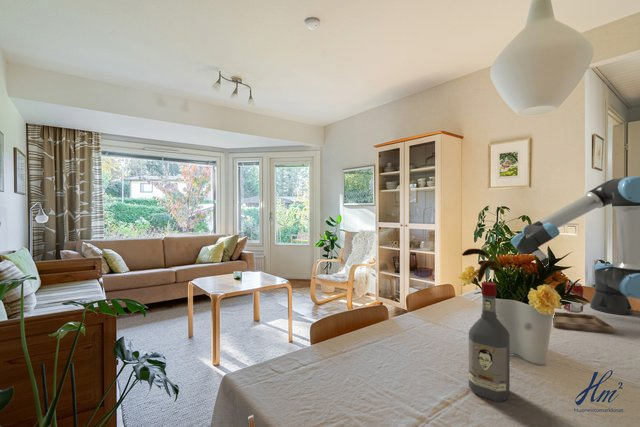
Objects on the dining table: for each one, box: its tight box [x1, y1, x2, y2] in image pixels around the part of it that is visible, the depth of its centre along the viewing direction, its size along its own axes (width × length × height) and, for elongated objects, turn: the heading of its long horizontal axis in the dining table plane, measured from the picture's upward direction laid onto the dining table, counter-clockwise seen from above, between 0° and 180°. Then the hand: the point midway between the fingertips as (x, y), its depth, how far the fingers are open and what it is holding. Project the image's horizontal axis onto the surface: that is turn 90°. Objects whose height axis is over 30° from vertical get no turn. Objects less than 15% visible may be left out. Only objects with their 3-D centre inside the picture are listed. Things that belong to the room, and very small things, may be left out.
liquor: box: [468, 281, 511, 402], centre depth 84 cm, size 9×9×30 cm
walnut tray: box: [552, 311, 614, 334], centre depth 133 cm, size 20×15×2 cm
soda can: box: [562, 281, 584, 314], centre depth 133 cm, size 7×7×12 cm
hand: (583, 305), depth 130 cm, fingers closed on soda can, 7 cm apart
